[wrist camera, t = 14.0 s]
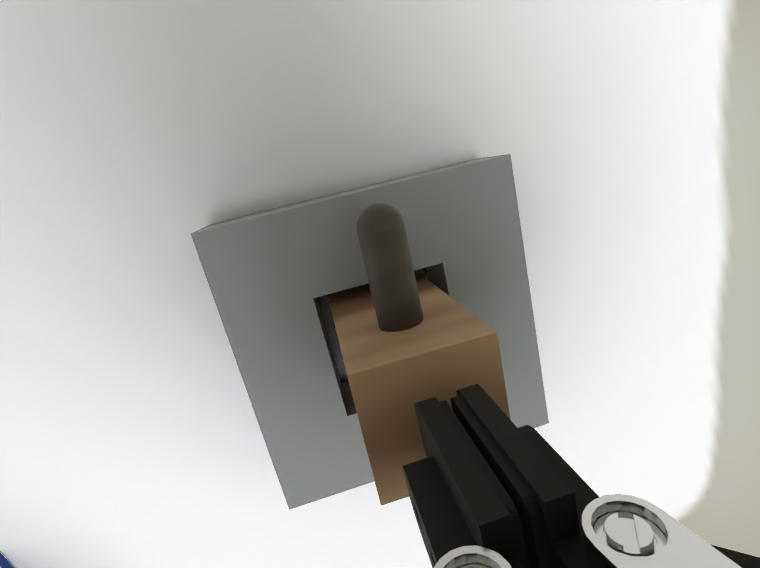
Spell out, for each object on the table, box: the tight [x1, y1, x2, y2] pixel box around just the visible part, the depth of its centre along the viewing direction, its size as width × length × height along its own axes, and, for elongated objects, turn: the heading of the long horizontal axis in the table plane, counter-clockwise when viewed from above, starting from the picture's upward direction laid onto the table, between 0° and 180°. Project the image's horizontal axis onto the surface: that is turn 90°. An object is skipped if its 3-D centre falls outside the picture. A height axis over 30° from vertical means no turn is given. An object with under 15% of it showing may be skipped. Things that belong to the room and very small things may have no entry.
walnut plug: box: [328, 203, 511, 505], centre depth 15 cm, size 9×4×9 cm, turn 13°
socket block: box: [191, 154, 549, 509], centre depth 18 cm, size 12×12×3 cm
